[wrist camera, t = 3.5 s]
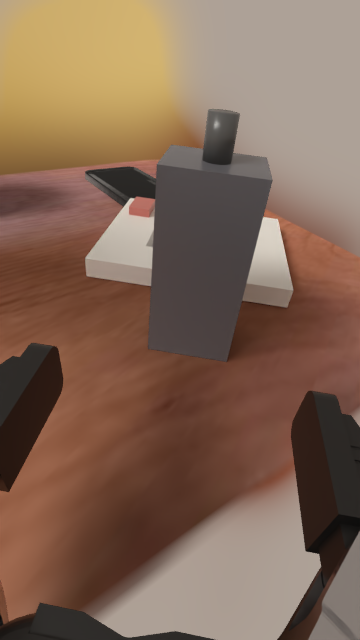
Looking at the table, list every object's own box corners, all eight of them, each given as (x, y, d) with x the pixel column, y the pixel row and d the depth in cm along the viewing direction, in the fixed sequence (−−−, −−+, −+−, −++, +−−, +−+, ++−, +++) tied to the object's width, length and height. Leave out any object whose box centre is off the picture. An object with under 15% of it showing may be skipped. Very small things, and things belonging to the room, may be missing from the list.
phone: (140, 211, 37) (82, 170, 46) (139, 221, 38) (82, 179, 47) (197, 202, 41) (133, 165, 50) (196, 211, 42) (133, 173, 51)
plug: (147, 348, 22) (159, 110, 14) (159, 311, 25) (174, 99, 17) (226, 361, 22) (285, 127, 13) (228, 322, 25) (277, 113, 17)
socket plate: (86, 276, 28) (84, 248, 26) (130, 212, 39) (130, 190, 37) (287, 307, 27) (296, 281, 25) (273, 233, 38) (279, 211, 36)
